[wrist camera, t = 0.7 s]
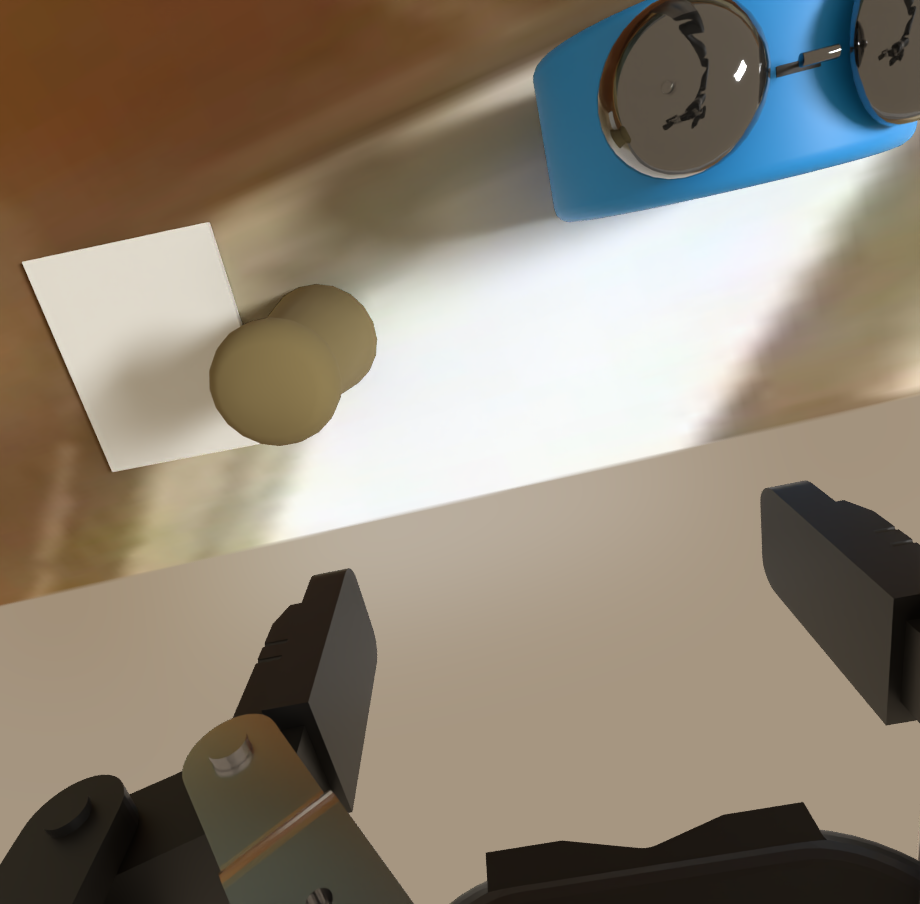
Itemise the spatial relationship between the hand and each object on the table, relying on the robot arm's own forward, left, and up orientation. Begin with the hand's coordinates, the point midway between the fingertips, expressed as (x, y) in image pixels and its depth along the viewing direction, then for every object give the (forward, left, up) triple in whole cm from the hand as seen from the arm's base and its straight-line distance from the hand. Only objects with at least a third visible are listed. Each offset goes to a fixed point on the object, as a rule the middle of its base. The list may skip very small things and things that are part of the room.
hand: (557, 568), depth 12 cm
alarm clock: (-9, +10, -24) cm, 27 cm away
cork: (-2, -9, -24) cm, 25 cm away
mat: (-3, -18, -23) cm, 30 cm away
